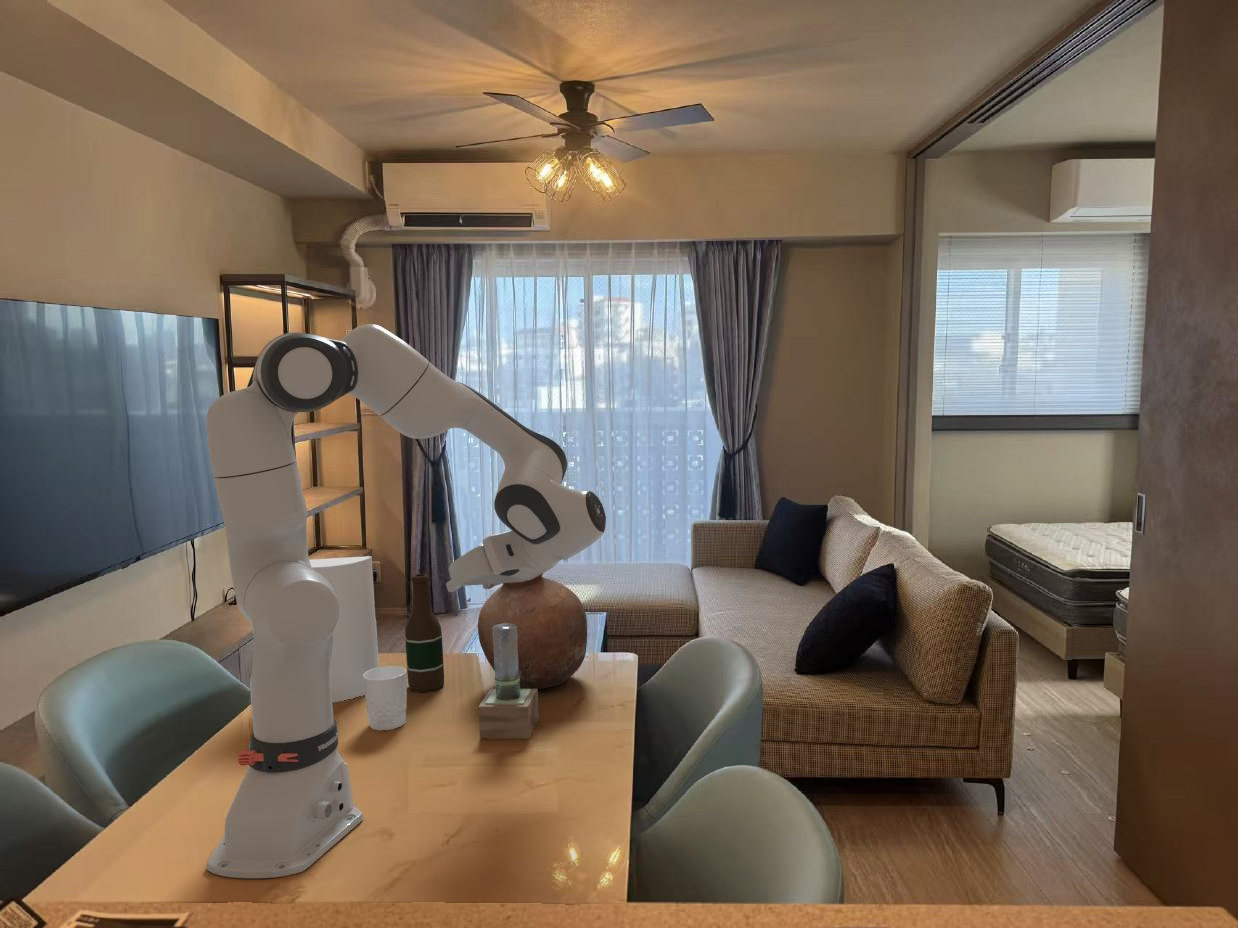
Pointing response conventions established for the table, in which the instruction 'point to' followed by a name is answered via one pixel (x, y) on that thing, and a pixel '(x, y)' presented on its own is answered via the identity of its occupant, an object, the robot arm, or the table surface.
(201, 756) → the table surface
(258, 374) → the robot arm
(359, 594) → the cylinder
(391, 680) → the white cup
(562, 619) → the pottery
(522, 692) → the stand block
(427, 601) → the beer bottle
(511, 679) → the grey cylindrical bottle
